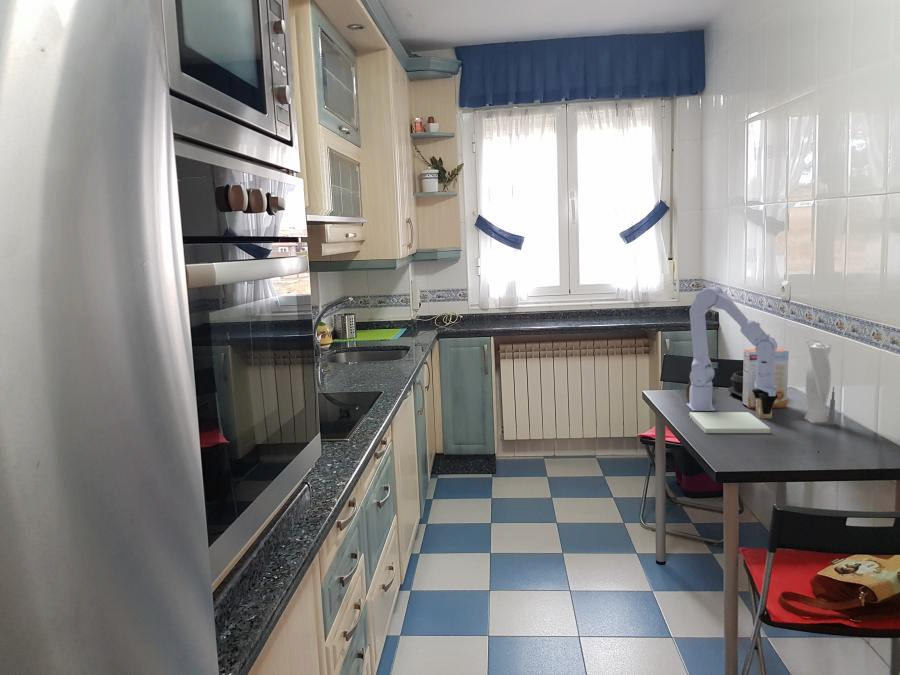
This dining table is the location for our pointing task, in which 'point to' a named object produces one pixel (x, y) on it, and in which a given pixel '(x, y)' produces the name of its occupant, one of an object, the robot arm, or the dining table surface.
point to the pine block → (759, 410)
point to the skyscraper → (819, 385)
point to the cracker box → (779, 379)
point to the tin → (688, 390)
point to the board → (728, 422)
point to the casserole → (737, 384)
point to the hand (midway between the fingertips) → (763, 411)
